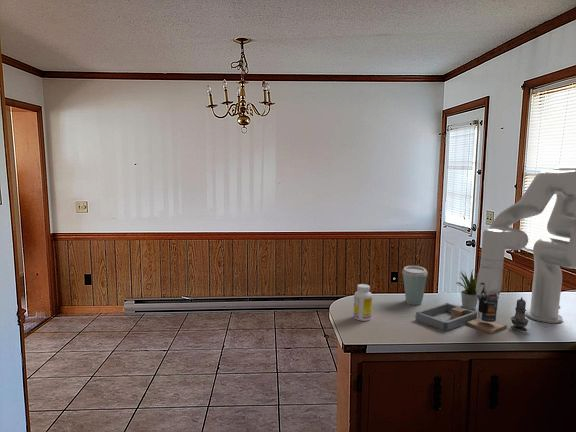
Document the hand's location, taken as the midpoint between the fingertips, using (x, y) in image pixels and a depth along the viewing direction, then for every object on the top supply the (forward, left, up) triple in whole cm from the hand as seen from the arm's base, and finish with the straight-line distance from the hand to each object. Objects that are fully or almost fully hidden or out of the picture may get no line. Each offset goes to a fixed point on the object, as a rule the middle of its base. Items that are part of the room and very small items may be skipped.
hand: (487, 310), depth 157 cm
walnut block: (+2, -10, -6) cm, 12 cm away
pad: (0, 0, -6) cm, 6 cm away
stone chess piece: (-8, +8, -6) cm, 13 cm away
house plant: (-13, -16, -6) cm, 21 cm away
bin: (+7, -12, -6) cm, 15 cm away
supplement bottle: (+33, -31, -6) cm, 46 cm away
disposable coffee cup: (+1, -32, -6) cm, 33 cm away
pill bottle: (0, 0, -4) cm, 4 cm away
